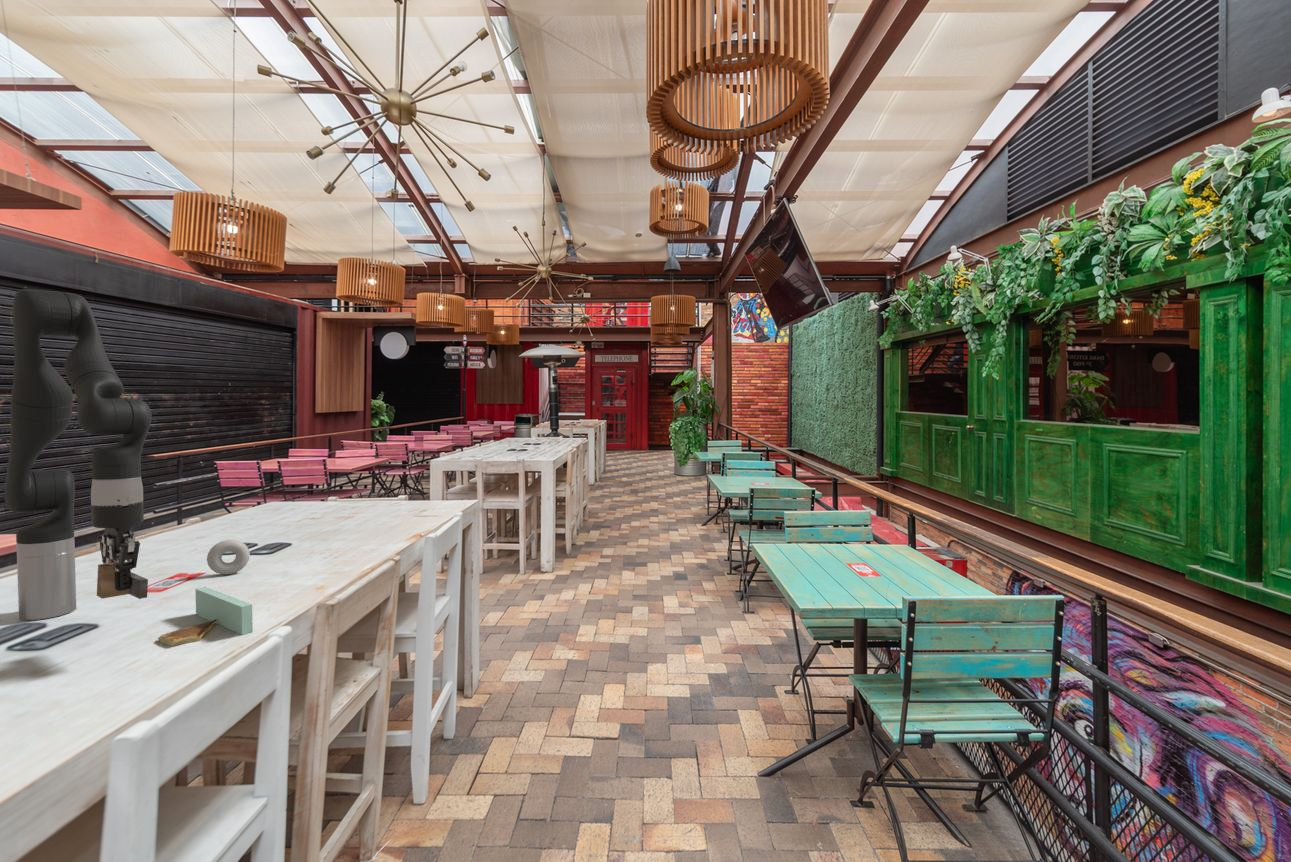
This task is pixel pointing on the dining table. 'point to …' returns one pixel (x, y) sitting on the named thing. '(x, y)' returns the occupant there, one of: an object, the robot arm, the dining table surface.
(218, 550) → the donut
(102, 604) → the dining table surface
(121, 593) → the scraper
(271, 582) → the dining table surface
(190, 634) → the shard
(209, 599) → the stop rail
